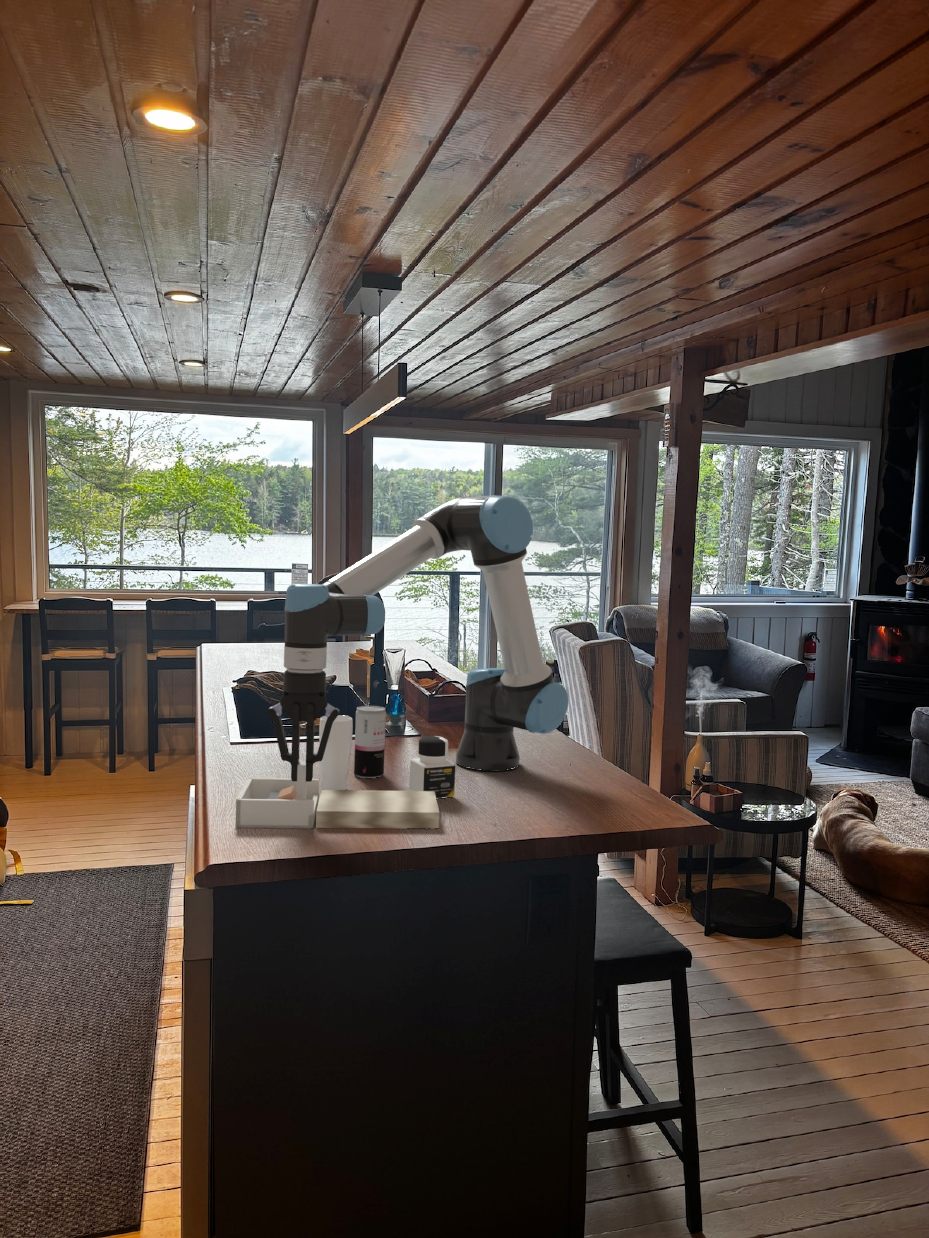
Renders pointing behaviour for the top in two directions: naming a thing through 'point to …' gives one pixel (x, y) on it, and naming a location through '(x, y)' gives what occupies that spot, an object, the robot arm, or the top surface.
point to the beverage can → (369, 741)
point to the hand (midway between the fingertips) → (301, 798)
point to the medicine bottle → (433, 768)
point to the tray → (275, 805)
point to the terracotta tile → (288, 793)
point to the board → (377, 809)
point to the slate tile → (274, 795)
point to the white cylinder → (336, 753)
